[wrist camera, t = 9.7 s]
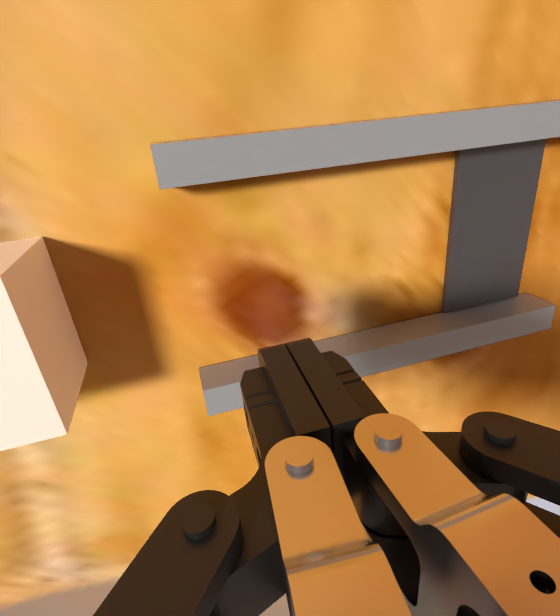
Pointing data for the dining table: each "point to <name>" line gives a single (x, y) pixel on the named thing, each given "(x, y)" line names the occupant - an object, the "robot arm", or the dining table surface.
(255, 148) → the channel
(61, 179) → the dining table surface
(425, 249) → the dining table surface
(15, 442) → the block
